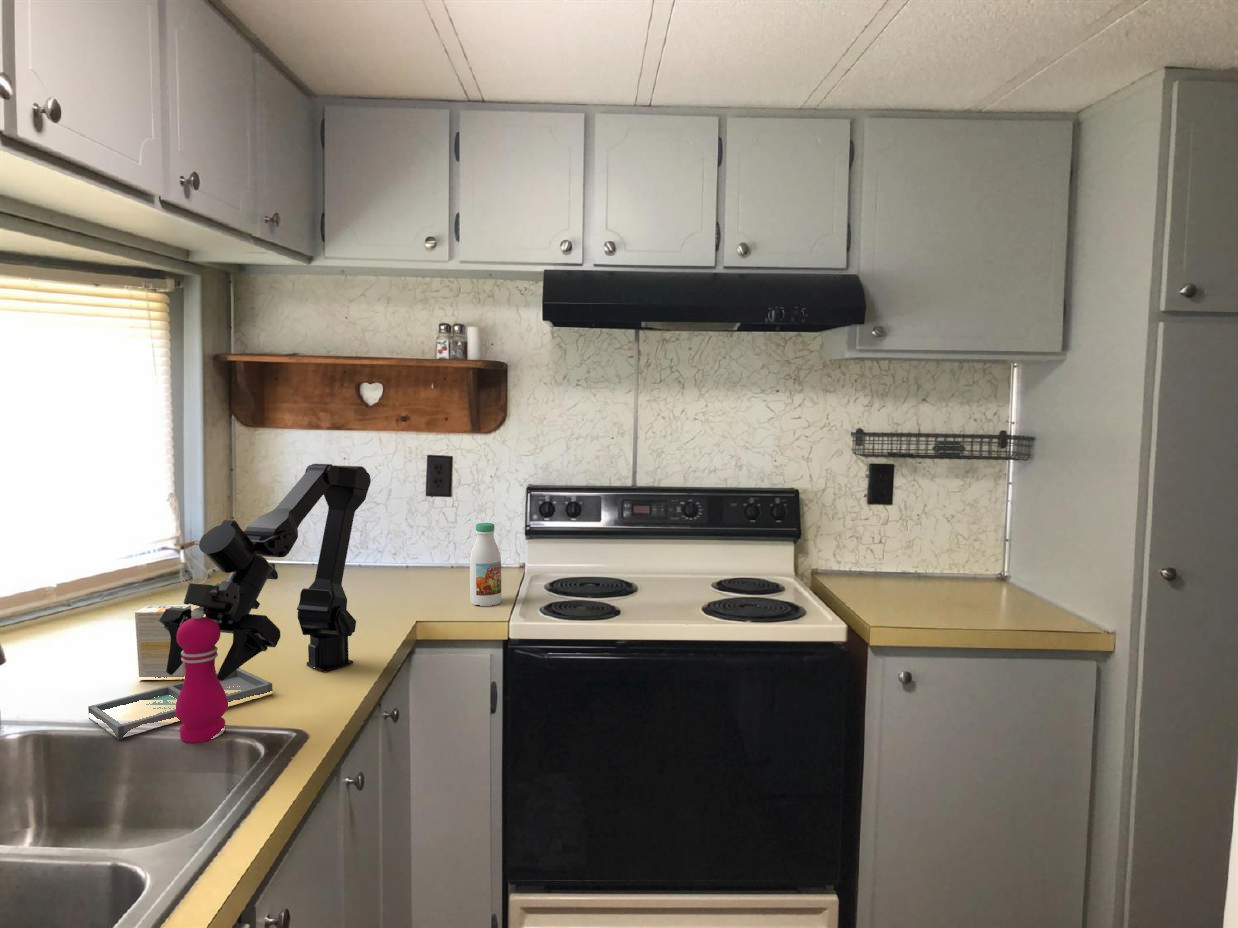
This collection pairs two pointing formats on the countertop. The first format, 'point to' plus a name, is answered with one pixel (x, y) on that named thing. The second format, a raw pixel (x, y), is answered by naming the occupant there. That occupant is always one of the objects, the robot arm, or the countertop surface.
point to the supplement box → (154, 642)
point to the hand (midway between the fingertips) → (193, 676)
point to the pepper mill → (200, 680)
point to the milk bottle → (485, 568)
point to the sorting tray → (239, 677)
